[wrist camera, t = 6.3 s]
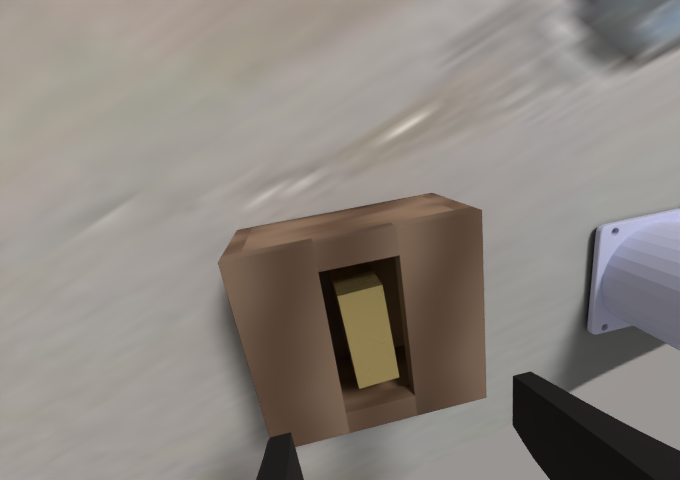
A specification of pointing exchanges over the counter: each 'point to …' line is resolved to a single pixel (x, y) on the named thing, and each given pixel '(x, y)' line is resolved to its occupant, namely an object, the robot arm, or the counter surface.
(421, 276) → the coin box
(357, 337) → the block
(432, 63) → the counter surface
